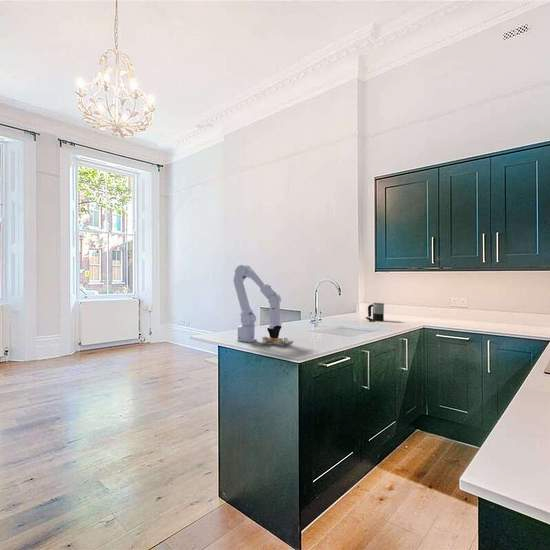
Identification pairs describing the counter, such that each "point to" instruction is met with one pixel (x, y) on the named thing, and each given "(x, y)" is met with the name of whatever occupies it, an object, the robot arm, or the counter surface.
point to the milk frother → (376, 312)
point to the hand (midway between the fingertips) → (274, 339)
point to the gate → (275, 340)
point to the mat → (277, 344)
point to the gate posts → (266, 341)
